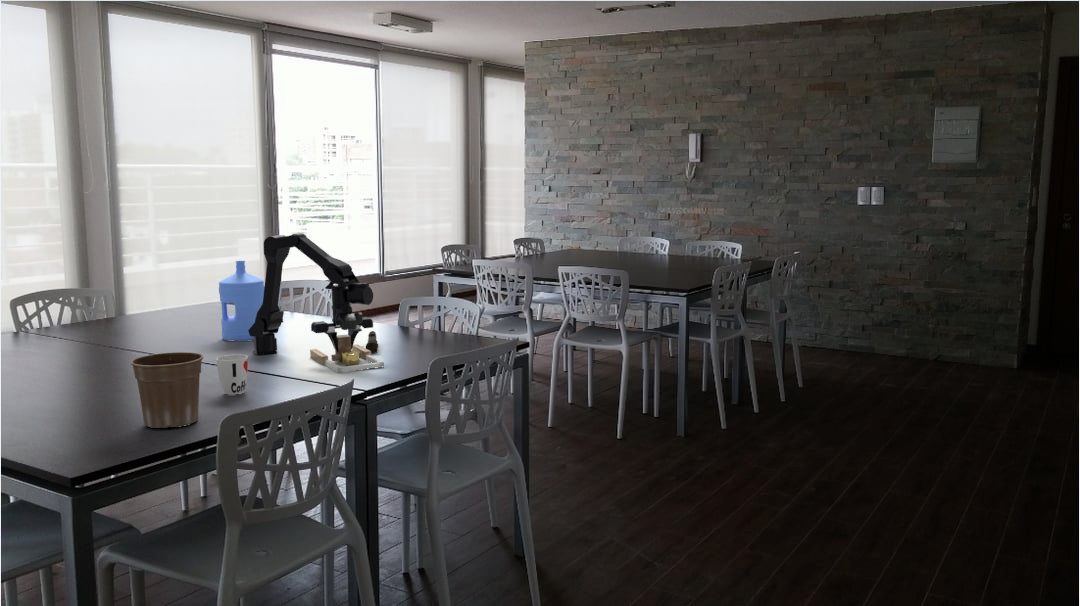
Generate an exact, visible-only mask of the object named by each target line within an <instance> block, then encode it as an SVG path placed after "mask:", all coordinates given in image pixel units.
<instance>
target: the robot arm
mask: <svg viewBox="0 0 1080 606" xmlns="http://www.w3.org/2000/svg"><path fill="white" fill-rule="evenodd" d="M291 248H296V249H297V250H298V251H299V252H301V253H302V254H304V255H305V256H306V257H307V258H309V259H310V260H311V261H312V262H313V263H315V265H317V266H319V267H320V269H321V271H322V272H323V275H324V276H325V277H326V279H328V281H330V282H329V283H328V284H327V285H326V286H325V289H326V290H331V303H332V304H331V310H332V318H331V322H330V323H329V322H325V321H324V320H323V321H313V322H312V323H311V324H310V331H311V332H313V333H314V334H325V335H327V336H328V338H329V341H330V342H331V344H332V346H333V348H334V352H335V351H336V352H338V344H337V335H338V332H337V331H336V329H341V330H343V331H347V335H349V336H351V351H352V347H353V345H355V344H354V343H355V340H356V338H357V335H358V334H359V333H360V332H362V331H363V329H371V328H372V329H373V328H374V321H373V319H372V318H370V317H367V316H363V313H362V312H353V307H352V305H365V306H370V305H371V304H372V302H373V299H374V292H373V290H372V289H373V288H371V287H370V284H369V282H364V283H362V282H360V281H359V279H358V278H357V276H356V275H355V272H354V271H353V267H352V266H351V265H350V264H348V263H347V262H346V261H343V260H342V259H339V258H335V257H333V256H332V255H330V254H329V253H327V252H326V251H325V250H324V249H322V248H321V247H320V246H319V245H317V244H316V243H314V241H312V240H311V239H310V238H309V237H307V235H306V234H304V233H302V232H298V233H293V234H291V235H285V234H280V235H270V236H268V237H266V238H264V240H263V255H264V258H265V260H266V269H265V270H266V271H265V280H264V295H263V303H262V306H261V307H260V309H259V310H258V312H257V315H256V318H255V323H254V324H253V325H252V326H251V328H250V329H249V330H248V331H249V334H250V336H253V337H254V340H253V347H254V349H253V350H252V352H253V353H254V354H255V355H257V356H262V355H272V354H277V353H278V340H277V338H276V335H275V334H278V332H279V330H280V327H281V326H282V323H284V319H283V318H284V314H285V311H284V310H281V309H280V307H279V301H280V299H279V297H280V292H281V291H280V290H281V283H282V281H281V280H282V274H283V267H284V266H283V265H284V262H285V260H286V259H287V258H288V256H289V253H290V250H291ZM361 327H362V328H363V329H362V328H361Z"/></svg>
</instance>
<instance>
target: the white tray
mask: <svg viewBox="0 0 1080 606" xmlns="http://www.w3.org/2000/svg"><path fill="white" fill-rule="evenodd" d="M365 360H366V361H367V360H368V361H367V362H369V361H370V362H369V363H363V364H359V365H353V366H346V365H345V366H340V365H338V364H336V363H335V361H332V360H330V359H328V360H325V363H326V364H325V366H327V367H328V368H330V369H332V370H333V372H336V373H338V374H342V373H348V372H349V373H350V371H351V372H356V371H355V370H359V371H362V370H361V369H367V368H375V367H382V366H384V367H385V363H384V361H381V360H380V359H378V358H376V357H374V356H372V354H371V355H366V359H365ZM371 362H372V363H371ZM375 369H376V368H375ZM367 370H368V369H367Z"/></svg>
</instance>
